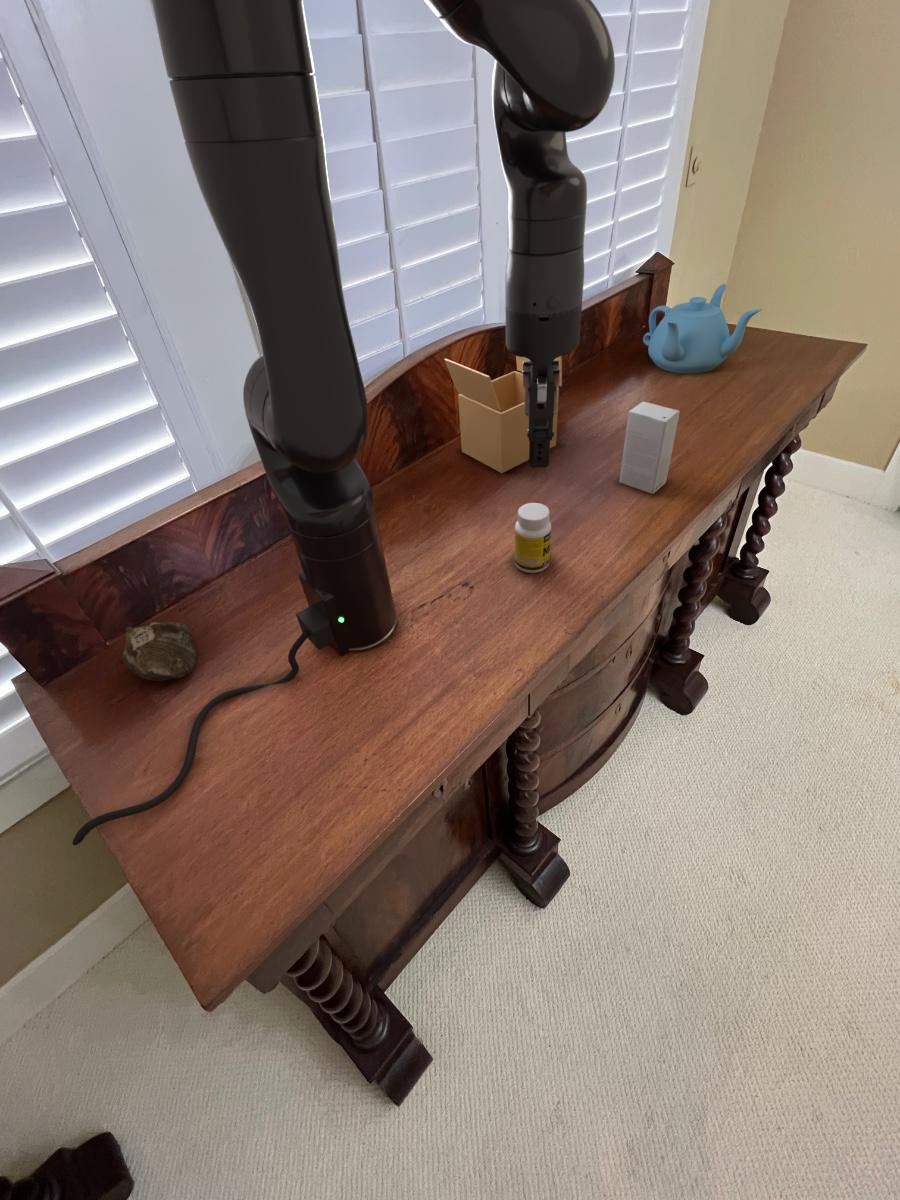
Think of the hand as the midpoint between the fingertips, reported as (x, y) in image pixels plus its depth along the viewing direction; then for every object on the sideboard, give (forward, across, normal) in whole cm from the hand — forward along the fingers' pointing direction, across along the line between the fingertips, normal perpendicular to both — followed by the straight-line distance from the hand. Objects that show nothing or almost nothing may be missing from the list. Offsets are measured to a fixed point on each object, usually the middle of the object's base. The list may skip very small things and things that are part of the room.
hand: (538, 447), depth 69 cm
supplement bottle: (+17, +1, 0) cm, 17 cm away
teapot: (+17, -65, +32) cm, 75 cm away
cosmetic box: (+17, -19, +17) cm, 30 cm away
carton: (+17, -30, -4) cm, 35 cm away
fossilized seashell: (+17, +21, -44) cm, 52 cm away
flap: (+3, -25, -10) cm, 27 cm away
